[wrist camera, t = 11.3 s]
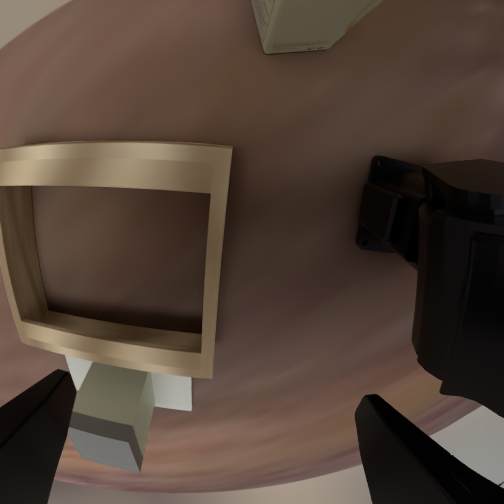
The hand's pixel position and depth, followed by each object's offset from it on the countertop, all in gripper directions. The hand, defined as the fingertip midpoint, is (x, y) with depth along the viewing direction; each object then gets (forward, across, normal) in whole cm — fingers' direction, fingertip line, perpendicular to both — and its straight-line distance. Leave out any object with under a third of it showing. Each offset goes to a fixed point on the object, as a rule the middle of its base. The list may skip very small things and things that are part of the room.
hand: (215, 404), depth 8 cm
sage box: (+12, +8, +14) cm, 20 cm away
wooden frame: (+13, +8, +1) cm, 15 cm away
